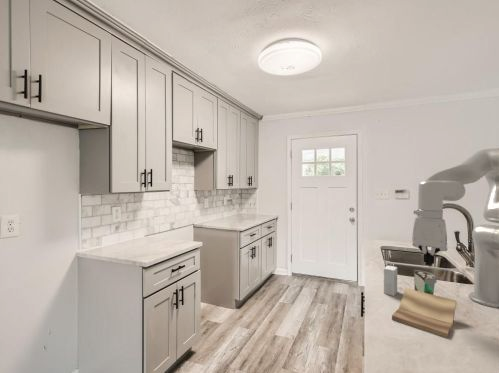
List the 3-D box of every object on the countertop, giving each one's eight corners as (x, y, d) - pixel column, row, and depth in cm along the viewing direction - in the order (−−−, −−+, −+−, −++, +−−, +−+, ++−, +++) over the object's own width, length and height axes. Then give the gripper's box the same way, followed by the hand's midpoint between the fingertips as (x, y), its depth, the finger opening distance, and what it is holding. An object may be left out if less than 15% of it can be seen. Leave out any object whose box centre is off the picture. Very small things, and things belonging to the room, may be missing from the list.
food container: (442, 304, 110) (442, 280, 110) (425, 303, 111) (425, 279, 111) (428, 292, 122) (429, 270, 122) (413, 291, 123) (413, 269, 123)
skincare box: (386, 291, 123) (387, 265, 123) (397, 294, 120) (397, 267, 120) (383, 295, 118) (383, 268, 118) (394, 298, 116) (394, 270, 115)
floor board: (404, 303, 111) (404, 297, 111) (460, 319, 98) (460, 312, 98) (388, 322, 97) (388, 315, 97) (451, 343, 84) (451, 335, 84)
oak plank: (405, 290, 108) (405, 287, 107) (456, 303, 97) (456, 300, 96) (399, 310, 103) (399, 308, 102) (452, 326, 91) (452, 324, 91)
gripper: (404, 213, 103) (403, 262, 103) (453, 217, 92) (452, 272, 93) (409, 212, 108) (408, 258, 108) (457, 215, 98) (455, 267, 98)
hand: (428, 264), depth 101 cm, fingers closed
